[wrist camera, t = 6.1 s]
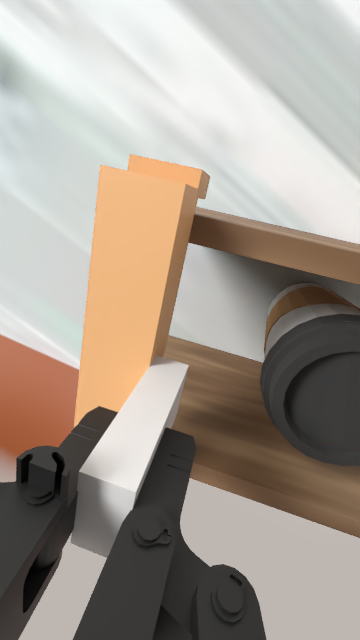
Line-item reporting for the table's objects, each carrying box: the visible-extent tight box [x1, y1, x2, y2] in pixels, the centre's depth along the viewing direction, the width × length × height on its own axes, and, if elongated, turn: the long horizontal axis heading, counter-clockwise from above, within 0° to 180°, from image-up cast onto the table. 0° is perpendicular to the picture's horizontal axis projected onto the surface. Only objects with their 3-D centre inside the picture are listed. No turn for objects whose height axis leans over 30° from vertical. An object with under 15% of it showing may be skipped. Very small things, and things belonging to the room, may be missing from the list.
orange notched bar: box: [74, 154, 210, 428], centre depth 15 cm, size 18×3×5 cm, turn 167°
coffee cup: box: [260, 283, 360, 466], centre depth 22 cm, size 8×8×15 cm
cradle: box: [164, 207, 360, 538], centre depth 22 cm, size 14×17×16 cm
